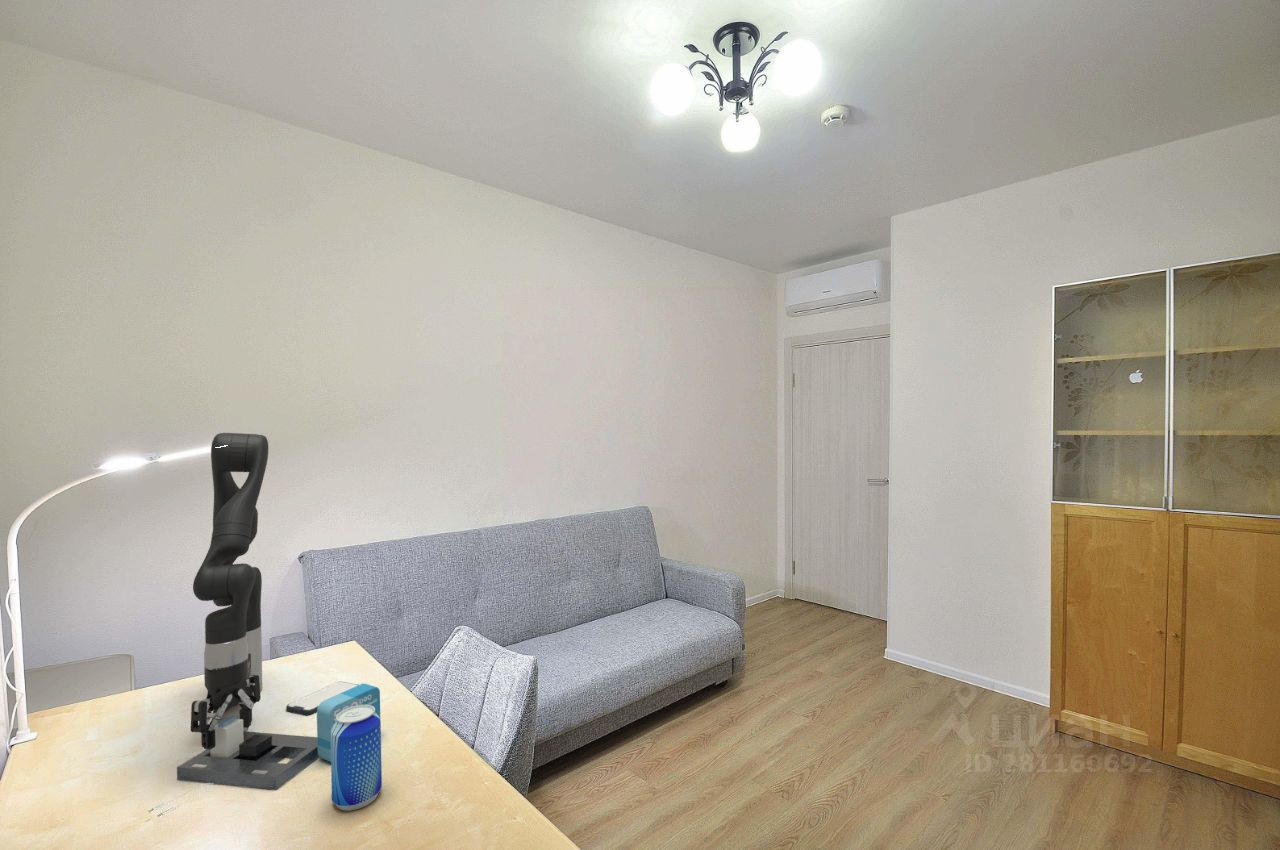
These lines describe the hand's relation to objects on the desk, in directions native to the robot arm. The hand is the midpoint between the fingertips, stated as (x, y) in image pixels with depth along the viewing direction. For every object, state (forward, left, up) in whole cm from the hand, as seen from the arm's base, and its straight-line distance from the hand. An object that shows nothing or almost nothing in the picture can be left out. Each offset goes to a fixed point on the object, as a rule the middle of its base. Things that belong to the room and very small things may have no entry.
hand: (227, 737), depth 120 cm
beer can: (+36, -7, -5) cm, 37 cm away
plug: (0, 0, -5) cm, 5 cm away
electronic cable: (+2, -12, -6) cm, 13 cm away
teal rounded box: (+23, +8, -5) cm, 25 cm away
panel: (+7, 0, -5) cm, 8 cm away
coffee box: (-10, +11, -5) cm, 16 cm away
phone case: (0, +28, -6) cm, 29 cm away
